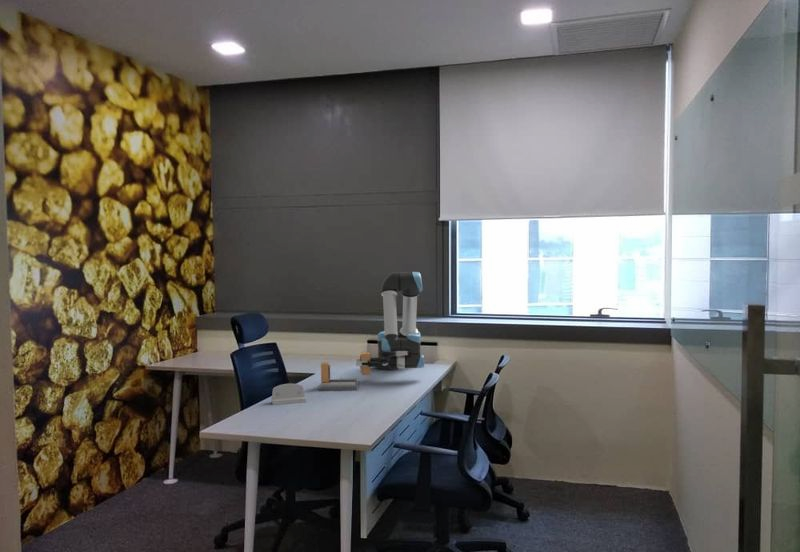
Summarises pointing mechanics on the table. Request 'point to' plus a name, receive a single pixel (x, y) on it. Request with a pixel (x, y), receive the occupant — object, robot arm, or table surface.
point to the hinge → (288, 394)
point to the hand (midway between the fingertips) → (356, 362)
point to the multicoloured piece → (334, 381)
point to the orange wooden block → (365, 357)
